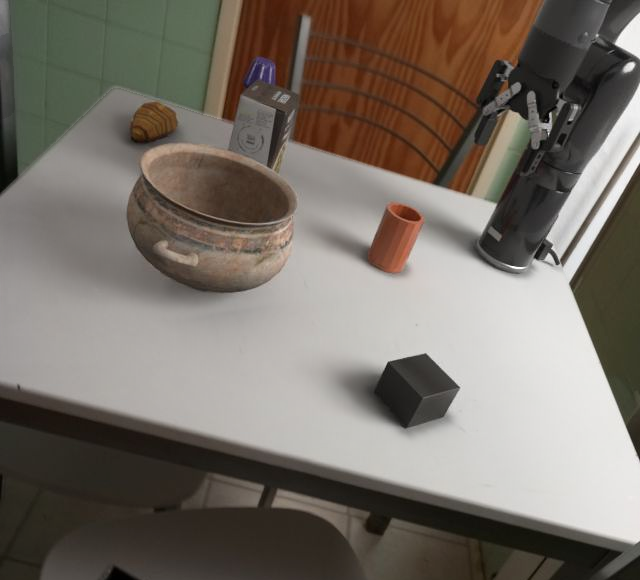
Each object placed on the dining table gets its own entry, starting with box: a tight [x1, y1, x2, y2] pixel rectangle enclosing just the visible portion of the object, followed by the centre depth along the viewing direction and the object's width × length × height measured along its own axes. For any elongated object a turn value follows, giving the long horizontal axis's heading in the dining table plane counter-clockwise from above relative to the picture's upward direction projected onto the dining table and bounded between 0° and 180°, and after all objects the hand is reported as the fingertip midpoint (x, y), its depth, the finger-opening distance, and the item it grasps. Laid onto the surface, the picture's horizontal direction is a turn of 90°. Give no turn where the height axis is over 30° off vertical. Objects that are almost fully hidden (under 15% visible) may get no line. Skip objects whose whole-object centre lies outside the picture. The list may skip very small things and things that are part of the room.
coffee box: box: [227, 79, 301, 175], centre depth 93 cm, size 9×6×16 cm
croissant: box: [129, 101, 179, 144], centre depth 105 cm, size 14×7×5 cm, turn 165°
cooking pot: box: [125, 142, 300, 294], centre depth 79 cm, size 25×19×12 cm
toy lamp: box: [242, 56, 276, 90], centre depth 101 cm, size 5×5×17 cm
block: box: [373, 352, 461, 429], centre depth 75 cm, size 6×6×4 cm
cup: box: [366, 201, 426, 274], centre depth 97 cm, size 6×6×8 cm
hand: (500, 159), depth 94 cm, fingers open, 8 cm apart
